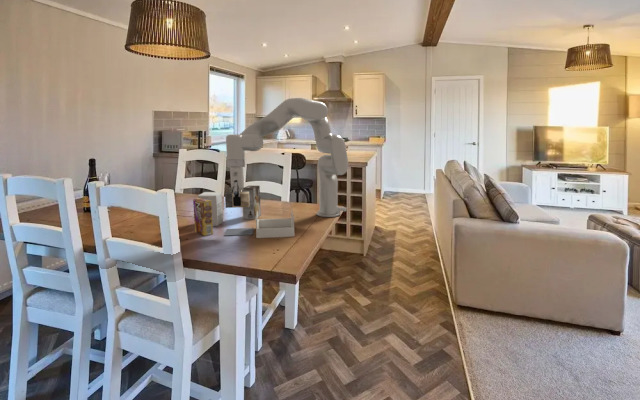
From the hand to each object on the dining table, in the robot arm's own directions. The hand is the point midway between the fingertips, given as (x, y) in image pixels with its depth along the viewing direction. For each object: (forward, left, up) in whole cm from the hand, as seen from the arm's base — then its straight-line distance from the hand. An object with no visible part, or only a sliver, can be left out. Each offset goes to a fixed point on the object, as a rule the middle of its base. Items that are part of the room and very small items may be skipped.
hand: (237, 204), depth 169 cm
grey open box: (-16, +1, -13) cm, 21 cm away
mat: (0, 0, -13) cm, 13 cm away
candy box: (+15, -1, -13) cm, 20 cm away
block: (0, 0, -1) cm, 1 cm away
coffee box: (-5, -27, -13) cm, 30 cm away
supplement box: (+14, -17, -13) cm, 26 cm away
